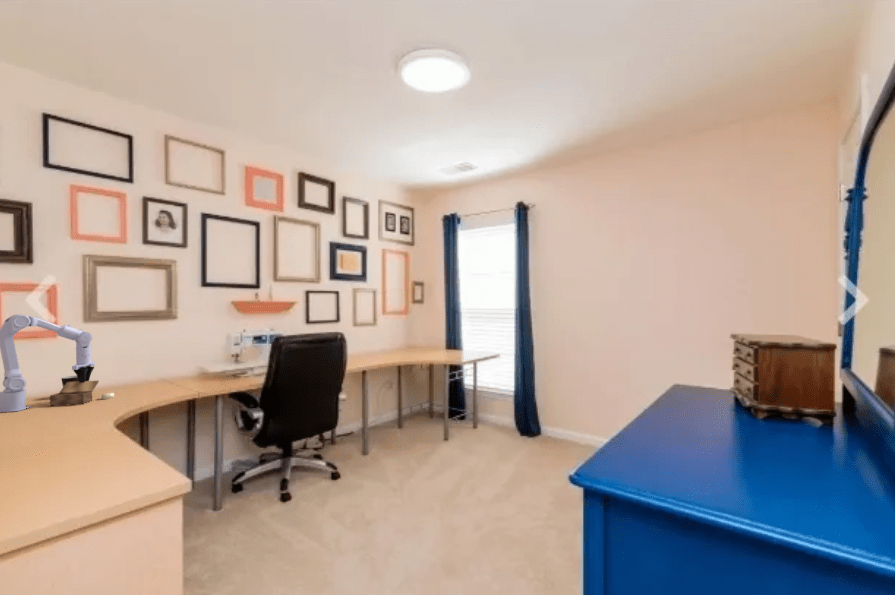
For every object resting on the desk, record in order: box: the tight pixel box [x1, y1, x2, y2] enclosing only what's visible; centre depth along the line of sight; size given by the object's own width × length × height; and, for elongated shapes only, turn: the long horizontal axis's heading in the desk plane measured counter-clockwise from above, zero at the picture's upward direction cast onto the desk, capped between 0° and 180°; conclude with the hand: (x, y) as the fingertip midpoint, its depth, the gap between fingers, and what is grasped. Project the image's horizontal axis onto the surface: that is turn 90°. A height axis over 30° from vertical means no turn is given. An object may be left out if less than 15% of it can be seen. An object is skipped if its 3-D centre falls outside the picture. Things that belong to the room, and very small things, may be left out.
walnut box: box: [49, 391, 93, 406], centre depth 207 cm, size 14×6×5 cm, turn 101°
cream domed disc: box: [100, 392, 115, 400], centre depth 218 cm, size 5×5×2 cm
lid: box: [59, 380, 100, 393], centre depth 213 cm, size 14×7×1 cm
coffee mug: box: [61, 375, 79, 388], centre depth 224 cm, size 12×9×10 cm
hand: (84, 381), depth 216 cm, fingers open, 2 cm apart
